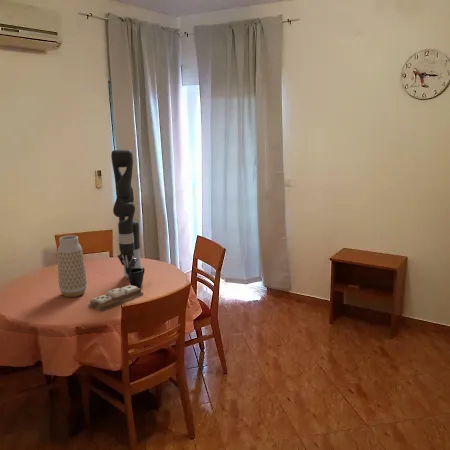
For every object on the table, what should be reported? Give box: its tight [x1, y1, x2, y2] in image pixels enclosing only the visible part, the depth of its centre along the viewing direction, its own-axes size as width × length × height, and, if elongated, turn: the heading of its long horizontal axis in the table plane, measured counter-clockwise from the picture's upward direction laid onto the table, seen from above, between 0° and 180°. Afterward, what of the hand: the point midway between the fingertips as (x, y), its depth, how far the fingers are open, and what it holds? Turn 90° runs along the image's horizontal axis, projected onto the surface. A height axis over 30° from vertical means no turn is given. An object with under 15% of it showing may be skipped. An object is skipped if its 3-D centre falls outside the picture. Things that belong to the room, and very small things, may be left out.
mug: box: [127, 266, 146, 289], centre depth 233 cm, size 8×12×10 cm
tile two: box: [107, 287, 125, 298], centre depth 212 cm, size 6×6×3 cm
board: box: [88, 287, 144, 312], centre depth 213 cm, size 11×26×3 cm, turn 144°
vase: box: [57, 235, 88, 298], centre depth 219 cm, size 14×14×31 cm
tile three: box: [93, 294, 112, 304], centre depth 206 cm, size 6×6×3 cm
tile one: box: [120, 284, 138, 293], centre depth 219 cm, size 6×6×3 cm
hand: (128, 273), depth 218 cm, fingers closed
